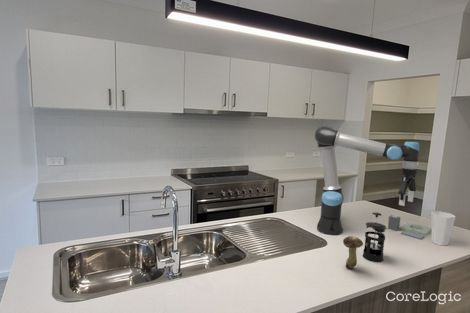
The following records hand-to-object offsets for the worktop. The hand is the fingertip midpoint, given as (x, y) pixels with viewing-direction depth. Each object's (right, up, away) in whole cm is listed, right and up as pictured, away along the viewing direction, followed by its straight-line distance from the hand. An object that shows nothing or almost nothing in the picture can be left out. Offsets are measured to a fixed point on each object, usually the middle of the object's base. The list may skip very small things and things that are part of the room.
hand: (406, 203), depth 173 cm
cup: (+14, -22, -8) cm, 27 cm away
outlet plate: (+13, -19, +12) cm, 26 cm away
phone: (+5, -20, +2) cm, 21 cm away
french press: (-33, -23, -28) cm, 49 cm away
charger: (-1, -18, +12) cm, 22 cm away
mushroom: (-49, -24, -39) cm, 67 cm away
